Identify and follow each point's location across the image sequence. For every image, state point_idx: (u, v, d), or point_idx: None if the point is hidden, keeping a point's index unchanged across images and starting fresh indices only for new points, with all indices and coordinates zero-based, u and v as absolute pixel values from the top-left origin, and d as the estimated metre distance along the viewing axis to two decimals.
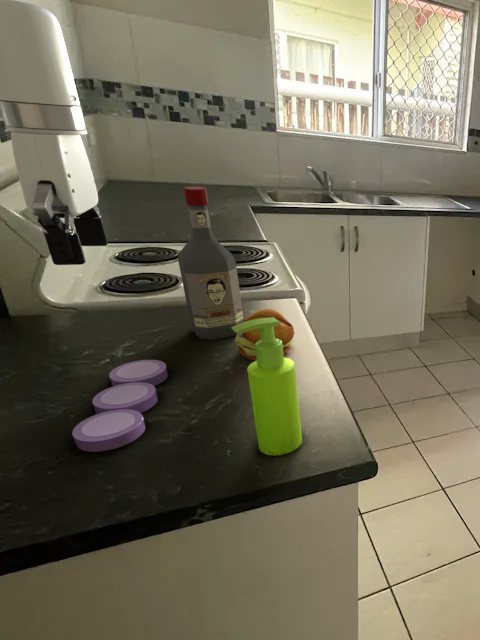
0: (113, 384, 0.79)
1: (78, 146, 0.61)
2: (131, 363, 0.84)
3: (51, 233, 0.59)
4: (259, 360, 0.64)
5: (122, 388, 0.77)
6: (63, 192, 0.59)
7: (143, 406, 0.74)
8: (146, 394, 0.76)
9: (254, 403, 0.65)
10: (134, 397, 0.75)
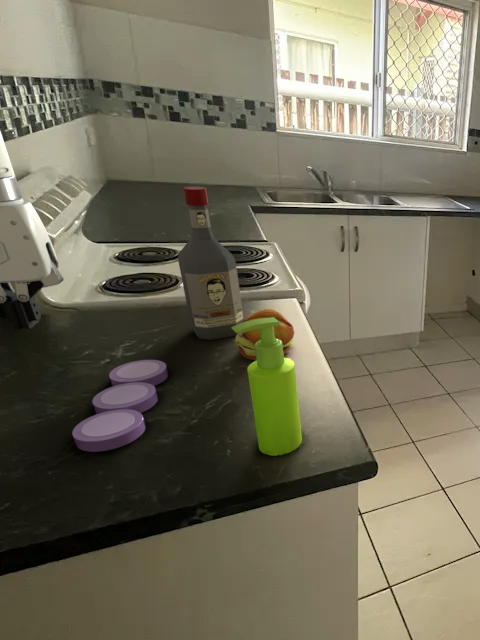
0: (113, 384, 0.79)
1: None
2: (131, 363, 0.84)
3: (31, 297, 0.65)
4: (259, 360, 0.64)
5: (122, 388, 0.77)
6: (53, 250, 0.65)
7: (143, 406, 0.74)
8: (146, 394, 0.76)
9: (254, 403, 0.65)
10: (134, 397, 0.75)
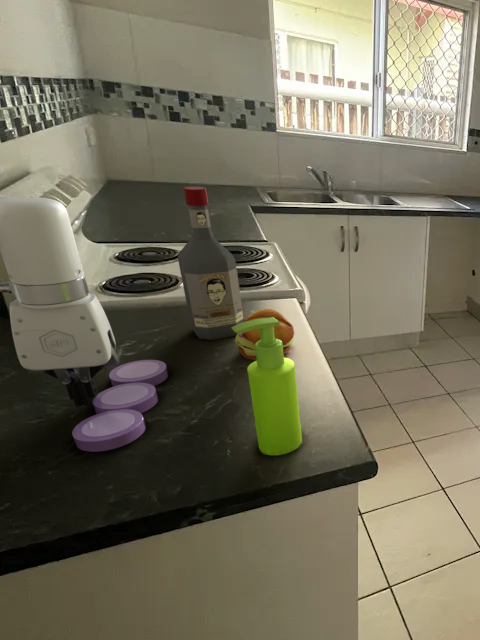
0: (113, 384, 0.79)
1: None
2: (131, 363, 0.84)
3: (92, 377, 0.72)
4: (259, 360, 0.64)
5: (122, 388, 0.77)
6: (113, 335, 0.72)
7: (143, 406, 0.74)
8: (146, 395, 0.76)
9: (254, 403, 0.65)
10: (134, 397, 0.75)
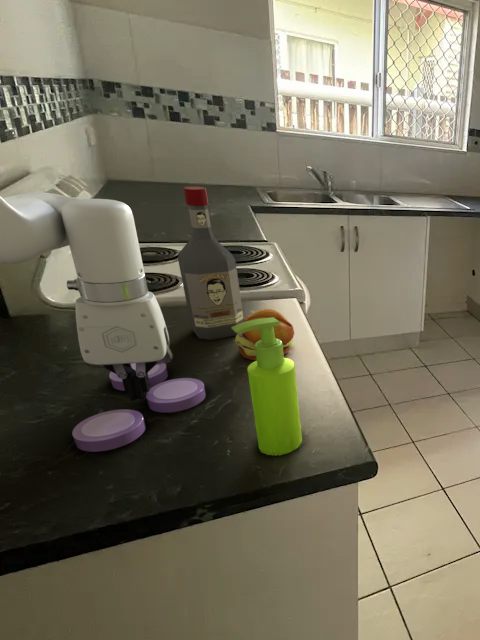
0: (113, 384, 0.79)
1: None
2: (131, 363, 0.84)
3: (146, 372, 0.75)
4: (259, 360, 0.64)
5: (172, 383, 0.80)
6: None
7: (194, 400, 0.77)
8: (195, 390, 0.78)
9: (254, 403, 0.65)
10: (185, 392, 0.77)
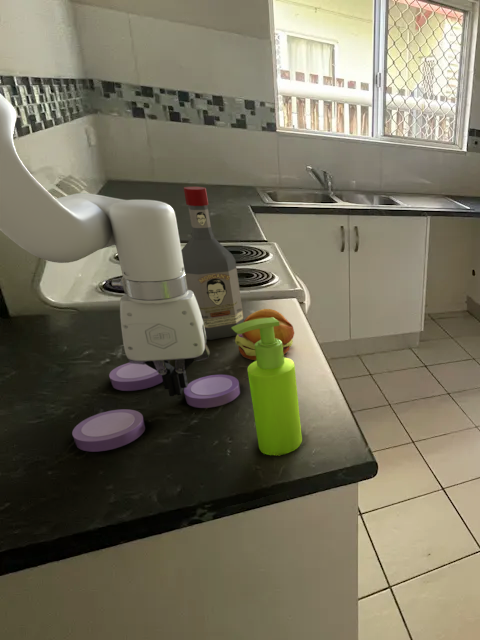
0: (113, 384, 0.79)
1: None
2: (131, 363, 0.84)
3: None
4: (259, 360, 0.64)
5: (207, 380, 0.82)
6: (204, 329, 0.77)
7: (230, 396, 0.79)
8: (231, 386, 0.81)
9: (254, 403, 0.65)
10: (221, 388, 0.79)
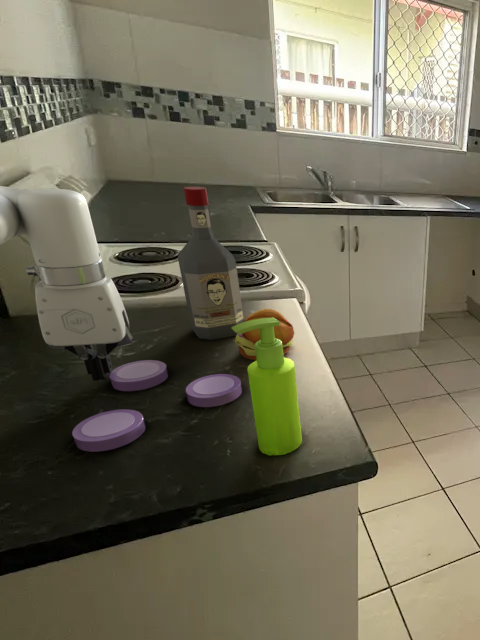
0: (113, 384, 0.79)
1: None
2: (131, 363, 0.84)
3: (107, 354, 0.79)
4: (259, 360, 0.64)
5: (209, 379, 0.82)
6: (126, 315, 0.79)
7: (232, 395, 0.79)
8: (233, 385, 0.81)
9: (254, 403, 0.65)
10: (223, 387, 0.80)
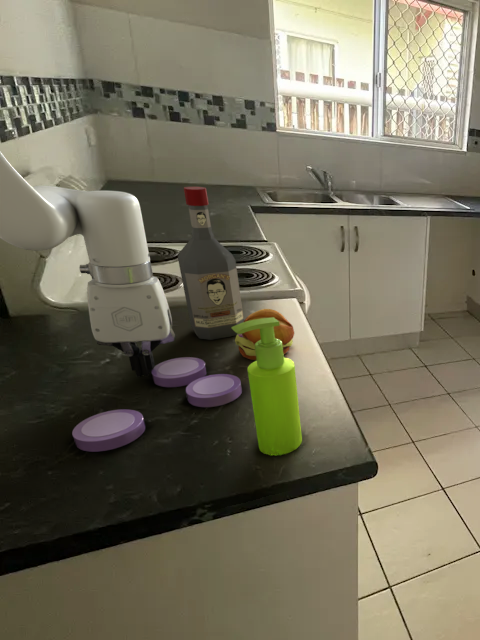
0: (155, 380, 0.82)
1: None
2: (171, 360, 0.86)
3: (151, 351, 0.81)
4: (259, 360, 0.64)
5: (209, 379, 0.82)
6: None
7: (232, 395, 0.79)
8: (233, 385, 0.81)
9: (254, 403, 0.65)
10: (223, 387, 0.80)
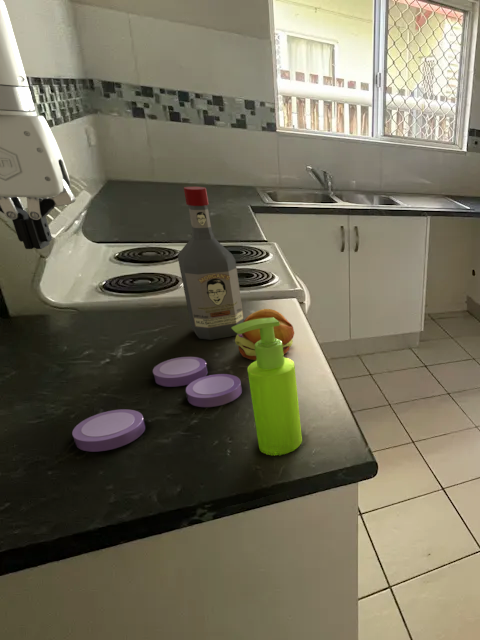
0: (157, 380, 0.82)
1: None
2: (172, 360, 0.86)
3: (43, 216, 0.64)
4: (259, 360, 0.64)
5: (209, 379, 0.82)
6: (66, 169, 0.65)
7: (232, 395, 0.79)
8: (233, 385, 0.81)
9: (254, 403, 0.65)
10: (223, 387, 0.80)
